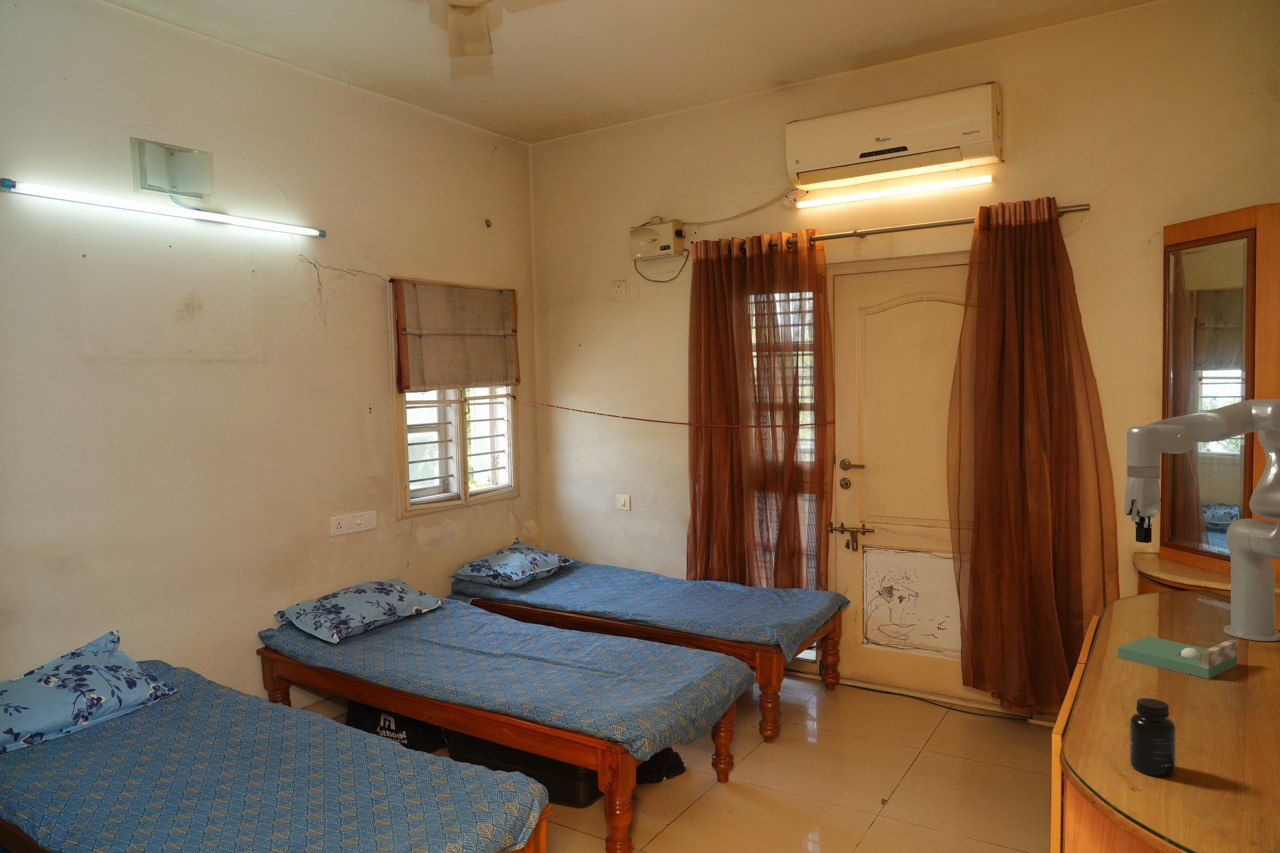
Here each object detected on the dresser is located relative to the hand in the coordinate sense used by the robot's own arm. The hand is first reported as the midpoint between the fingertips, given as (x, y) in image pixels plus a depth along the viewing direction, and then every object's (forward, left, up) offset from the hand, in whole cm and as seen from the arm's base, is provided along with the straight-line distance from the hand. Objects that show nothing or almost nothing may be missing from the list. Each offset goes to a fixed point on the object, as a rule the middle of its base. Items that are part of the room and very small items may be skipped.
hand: (1143, 541), depth 212 cm
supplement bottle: (+75, +35, -27) cm, 87 cm away
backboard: (+9, +21, -25) cm, 33 cm away
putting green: (+9, +12, -27) cm, 31 cm away
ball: (+9, +14, -25) cm, 30 cm away
